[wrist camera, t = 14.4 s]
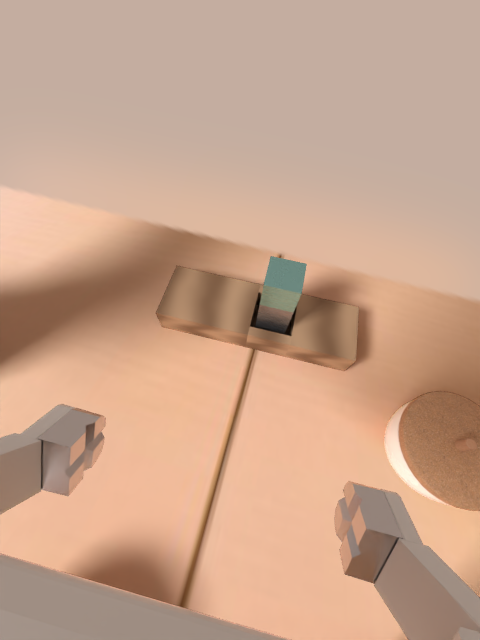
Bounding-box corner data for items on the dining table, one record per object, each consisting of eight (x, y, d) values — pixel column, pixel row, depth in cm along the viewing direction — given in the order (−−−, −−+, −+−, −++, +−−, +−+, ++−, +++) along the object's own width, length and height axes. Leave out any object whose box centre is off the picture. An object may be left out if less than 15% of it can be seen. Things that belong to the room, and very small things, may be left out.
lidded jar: (414, 524, 32) (482, 542, 23) (351, 433, 36) (388, 421, 28) (478, 469, 35) (558, 467, 26) (412, 390, 39) (463, 368, 30)
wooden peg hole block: (161, 326, 41) (155, 312, 38) (180, 281, 45) (176, 265, 42) (344, 371, 40) (355, 360, 36) (348, 320, 43) (359, 306, 40)
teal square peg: (253, 333, 41) (263, 285, 30) (259, 310, 43) (270, 256, 32) (281, 340, 41) (301, 293, 30) (286, 316, 43) (306, 263, 32)
